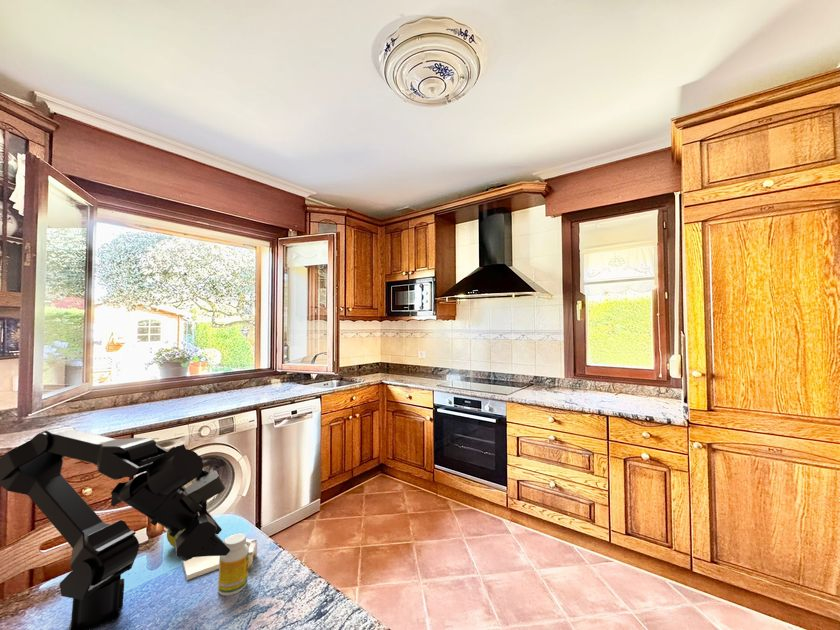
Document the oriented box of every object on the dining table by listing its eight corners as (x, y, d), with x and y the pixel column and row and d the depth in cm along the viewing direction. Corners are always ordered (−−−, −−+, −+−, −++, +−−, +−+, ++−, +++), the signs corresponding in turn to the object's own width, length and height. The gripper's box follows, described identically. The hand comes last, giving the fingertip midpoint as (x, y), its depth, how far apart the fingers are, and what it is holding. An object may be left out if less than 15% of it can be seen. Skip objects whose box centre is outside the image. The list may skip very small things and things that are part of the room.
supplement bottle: (215, 585, 71) (218, 537, 72) (243, 575, 75) (246, 528, 75) (220, 601, 67) (223, 549, 68) (250, 588, 71) (252, 539, 71)
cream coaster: (186, 580, 73) (186, 575, 73) (182, 564, 78) (183, 559, 78) (224, 566, 77) (224, 562, 77) (217, 552, 83) (218, 547, 83)
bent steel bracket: (241, 574, 75) (241, 556, 75) (231, 554, 82) (232, 538, 82) (262, 565, 78) (263, 549, 78) (251, 547, 85) (252, 532, 85)
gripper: (204, 476, 61) (267, 522, 67) (192, 450, 75) (245, 489, 81) (144, 538, 55) (218, 582, 61) (143, 497, 70) (204, 536, 76)
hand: (223, 541), depth 70 cm, fingers open, 9 cm apart
